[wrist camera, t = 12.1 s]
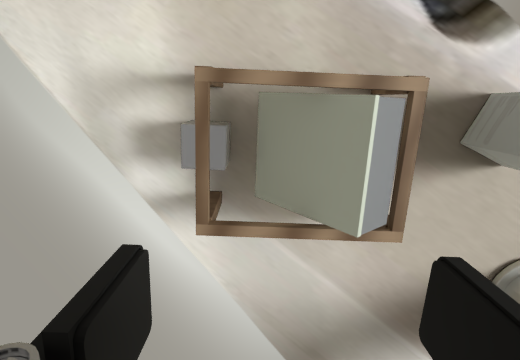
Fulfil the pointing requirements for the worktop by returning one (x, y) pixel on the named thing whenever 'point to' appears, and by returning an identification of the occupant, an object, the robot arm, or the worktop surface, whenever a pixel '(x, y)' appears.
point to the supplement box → (497, 130)
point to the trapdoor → (329, 156)
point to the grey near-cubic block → (217, 145)
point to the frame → (380, 85)
